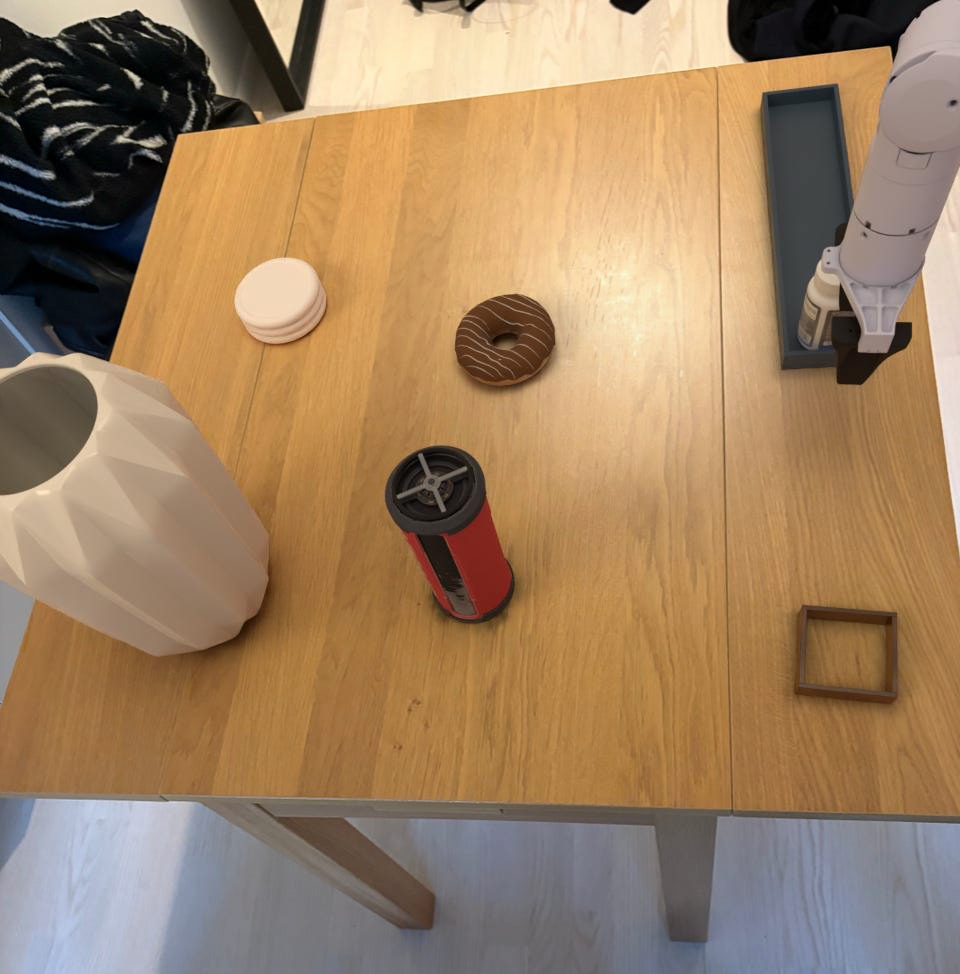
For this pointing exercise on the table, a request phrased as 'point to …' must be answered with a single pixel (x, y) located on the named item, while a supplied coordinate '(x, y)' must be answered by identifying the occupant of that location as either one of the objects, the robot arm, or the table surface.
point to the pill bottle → (820, 311)
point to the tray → (803, 201)
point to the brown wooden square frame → (851, 616)
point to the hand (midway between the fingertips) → (851, 344)
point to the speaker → (451, 531)
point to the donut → (497, 319)
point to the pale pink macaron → (280, 300)
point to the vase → (122, 508)
